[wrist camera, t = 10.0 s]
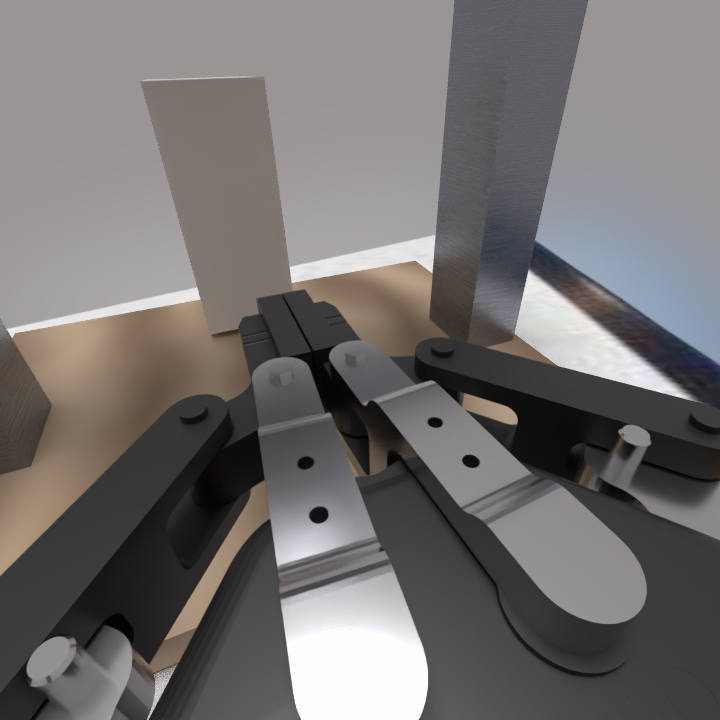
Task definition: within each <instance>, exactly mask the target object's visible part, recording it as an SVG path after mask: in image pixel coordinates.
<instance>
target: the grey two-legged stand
mask: <svg viewBox="0 0 720 720" xmlns="http://www.w3.org/2000/svg"><path fill="white" fill-rule="evenodd" d="M587 3H588V0H455V2H454V14H453V27H452V41H451V52H450V65H449V77H448V90H447V101H446V114H445V127H444V139H443V151H442V152H443V153H442V164H441V176H440V190H439V202H438V214H437V226H436V238H435V251H434V263H433V276H432V288H431V301H430V313H429V319H430V320H431V321H432V322H433V323H435V324H436V325H437V326H438V327H439V328H440V329H441V330H442V331H443V332H444V333H445V334H447V335H448V336H449V337H450V338H451V339H454V340H458V341H462V342H466V343H470V344H474V345H478V346H481V347H489V346H493V345H497V344H500V343H504V342H508V341H512V340H513V337H514V332H515V328H516V323H517V319H518V314H519V310H520V305H521V301H522V296H523V292H524V287H525V283H526V278H527V274H528V269H529V265H530V260H531V256H532V251H533V247H534V242H535V237H536V233H537V229H538V224H539V219H540V215H541V210H542V206H543V202H544V197H545V192H546V188H547V184H548V179H549V174H550V170H551V165H552V161H553V156H554V152H555V147H556V143H557V138H558V134H559V129H560V125H561V120H562V116H563V111H564V107H565V102H566V97H567V93H568V89H569V84H570V80H571V75H572V71H573V66H574V62H575V57H576V53H577V48H578V44H579V39H580V34H581V30H582V26H583V21H584V17H585V12H586V8H587ZM51 406H52V404H51V402H50V400H49V399H48V397H47V395H46V394H45V392H44V390H43V389H42V387H41V386H40V384H39V382H38V381H37V379H36V377H35V376H34V374H33V372H32V371H31V369H30V367H29V366H28V364H27V362H26V361H25V359H24V358H23V356H22V354H21V353H20V351H19V349H18V348H17V346H16V344H15V343H14V341H13V339H12V338H11V336H10V334H9V333H8V331H7V330H6V328H5V326H4V325H3V323H2V321H1V320H0V475H1V474H5V473H9V472H13V471H17V470H20V469H24V468H28V467H31V465H32V462H33V459H34V456H35V453H36V450H37V447H38V444H39V442H40V439H41V436H42V433H43V430H44V427H45V424H46V421H47V418H48V415H49V412H50V409H51Z"/></svg>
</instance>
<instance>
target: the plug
mask: <svg viewBox="0 0 720 720" xmlns="http://www.w3.org/2000/svg"><path fill="white" fill-rule="evenodd" d="M141 85H142V89H143V92H144V96H145V99H146V103H147V107H148V110H149V114H150V117H151V121H152V125H153V128H154V132H155V136H156V139H157V143H158V146H159V150H160V154H161V157H162V161H163V164H164V168H165V172H166V175H167V179H168V182H169V186H170V189H171V193H172V197H173V201H174V204H175V208H176V211H177V215H178V219H179V222H180V226H181V229H182V233H183V236H184V240H185V244H186V248H187V251H188V255H189V258H190V262H191V266H192V269H193V273H194V276H195V280H196V284H197V287H198V291H199V295H200V298H201V302H202V305H203V309H204V313H205V316H206V320H207V323H208V327H209V331H210V334H216V333H221V332H226V331H230V330H235V329H239V328H238V326H239V324H240V322H241V320H242V318H243V317H246V316H251V315H256V314H259V313H258V308H257V302H256V298H260V297H266V296H271V295H276V294H282V293H286V292H292V284H291V276H290V269H289V261H288V255H287V246H286V239H285V231H284V224H283V216H282V208H281V201H280V194H279V186H278V178H277V171H276V164H275V156H274V148H273V141H272V133H271V125H270V119H269V110H268V104H267V95H266V88H265V80H264V77H252V76H251V77H250V76H245V77H216V78H188V79H159V80H143V81H141Z"/></svg>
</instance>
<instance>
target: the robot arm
mask: <svg viewBox="0 0 720 720" xmlns="http://www.w3.org/2000/svg"><path fill="white" fill-rule="evenodd" d="M256 302H257V308H258V313H259V314H256V315H251V316H246V317H243V318H242V320H241V322H240V324H239V326H238V328H239V332H240V336H241V341H242V345H243V349H244V354H245V358H246V362H247V367H248V370H249V374H250V377H251V383H250V385H249V386H248V388H247V389H246V390H245V391H244V392H242V393H241V394H240V395H238V396H236V397H235V398H233V399H231V400H229V401H227V402H225V401H224V400H223V399H222V398H220V397H218V396H215V395H210V394H201V395H194V396H190V397H187V398H185V399H182V400H180V401H178V402H176V403H175V404H173V405H172V406H171V407H170V408H168V409H167V410H166V411H165V412H164V413H163V414H162V415H161V416H160V417H159V418H158V419H157V420H156V421H155V422H154V423H153V424H152V425H151V426H150V427H149V428H148V429H147V430H146V431H145V432H144V433H143V434H142V435H141V436H140V437H139V438H138V439H137V440H136V441H135V442H134V443H133V444H132V445H131V446H130V447H129V448H128V449H127V450H126V451H125V452H124V453H123V454H122V455H121V456H120V457H119V458H118V459H117V460H116V461H115V462H114V463H113V464H112V465H111V466H110V467H109V468H108V469H107V470H106V471H105V472H104V473H103V474H102V475H101V476H100V477H99V478H98V479H97V480H96V481H95V482H94V483H93V484H92V485H91V486H90V487H89V488H88V489H87V490H86V491H85V492H84V493H83V494H82V495H81V496H80V497H79V498H78V499H77V500H76V501H75V502H74V503H73V504H72V505H71V506H70V507H69V508H68V509H67V510H66V511H65V512H64V513H63V514H62V515H61V516H60V517H59V518H58V519H57V520H56V521H55V522H54V523H53V524H52V525H51V526H50V527H49V528H48V529H47V530H46V531H45V532H44V533H43V534H42V535H41V536H40V537H39V538H38V539H37V540H36V541H35V542H34V543H33V544H32V545H31V546H30V547H29V548H28V549H27V550H26V551H25V552H24V553H23V554H22V555H21V556H20V557H19V558H18V559H17V560H16V561H15V562H14V563H13V564H12V565H11V566H10V567H9V568H8V569H7V570H6V571H5V572H4V573H3V574H2V575H1V576H0V720H147V718H148V715H149V713H150V711H151V708H152V704H153V701H154V695H155V678H154V674H153V671H152V669H151V667H150V666H149V664H150V663H151V661H152V659H153V658H154V656H155V654H156V653H157V651H158V650H159V648H160V646H161V645H162V643H163V641H164V640H165V638H166V636H167V635H168V633H169V631H170V630H171V628H172V626H173V625H174V623H175V621H176V620H177V618H178V617H179V615H180V613H181V612H182V610H183V608H184V607H185V605H186V603H187V602H188V600H189V598H190V597H191V595H192V593H193V592H194V590H195V588H196V587H197V585H198V583H199V582H200V580H201V579H202V577H203V575H204V574H205V572H206V570H207V569H208V567H209V565H210V564H211V562H212V560H213V559H214V557H215V555H216V554H217V552H218V550H219V549H220V547H221V546H222V544H223V542H224V541H225V539H226V537H227V536H228V534H229V532H230V531H231V529H232V527H233V526H234V524H235V522H236V521H237V519H238V517H239V516H240V514H241V512H242V511H243V509H244V508H245V506H246V504H247V503H248V501H249V499H250V495H251V488H253V487H254V486H256V485H257V484H259V483H261V482H262V481H264V480H265V484H266V491H267V498H268V505H269V512H270V518H269V519H268V520H267V521H266V522H264V523H263V524H262V525H261V526H260V527H259V528H257V529H256V530H255V531H254V532H253V533H252V534H251V536H250V537H249V538H248V539H247V540H246V541H245V543H244V544H243V545H242V546H241V548H240V549H239V551H238V552H237V554H236V555H235V557H234V558H233V560H232V562H231V564H230V566H229V567H228V569H227V571H226V573H225V575H224V577H223V579H222V581H221V583H220V585H219V587H218V588H217V590H216V592H215V594H214V596H213V598H212V600H211V602H210V604H209V606H208V608H207V609H206V611H205V613H204V615H203V617H202V619H201V621H200V623H199V625H198V627H197V629H196V630H195V632H194V634H193V636H192V638H191V640H190V642H189V644H188V646H187V648H186V650H185V651H184V653H183V655H182V657H181V659H180V661H179V663H178V665H177V667H176V669H175V671H174V672H173V674H172V676H171V678H170V680H169V682H168V684H167V686H166V688H165V690H164V692H163V693H162V695H161V697H160V699H159V701H158V703H157V705H156V707H155V709H154V711H153V713H152V714H151V716H150V718H149V720H720V410H719V409H717V408H714V407H712V406H709V405H706V404H702V403H698V402H694V401H690V400H687V399H683V398H679V397H675V396H671V395H667V394H663V393H660V392H656V391H652V390H648V389H644V388H640V387H636V386H632V385H629V384H625V383H621V382H617V381H613V380H609V379H605V378H601V377H598V376H594V375H590V374H586V373H582V372H578V371H574V370H571V369H567V368H563V367H559V366H555V365H551V364H547V363H543V362H540V361H536V360H532V359H528V358H524V357H520V356H516V355H512V354H509V353H505V352H501V351H497V350H493V349H489V348H485V347H481V346H478V345H474V344H470V343H466V342H462V341H458V340H454V339H450V338H444V337H435V338H429V339H426V340H423V341H421V342H420V343H419V344H418V345H417V346H416V348H415V356H399V357H392V356H388V355H387V354H386V353H385V352H384V351H383V350H382V349H381V348H380V347H379V346H377V345H375V344H373V343H371V342H367V341H361V339H360V338H359V337H358V335H357V334H356V333H355V331H354V330H353V329H352V328H351V326H350V325H349V324H348V323H347V321H346V320H345V318H344V317H343V316H342V314H341V313H340V312H339V310H338V309H337V308H336V306H334V305H332V304H330V303H328V302H326V301H321V302H316V303H314V302H313V300H312V299H311V297H310V296H309V294H308V293H307V291H306V290H305V289H302V290H297V291H292V292H286V293H282V294H276V295H271V296H266V297H260V298H256ZM465 393H466V394H469V395H472V396H475V397H478V398H482V399H485V400H488V401H491V402H494V403H498V404H501V405H504V406H507V407H509V408H510V409H512V410H513V411H514V412H515V414H516V416H517V418H518V422H517V424H514V425H511V424H507V423H504V422H501V421H498V420H495V419H491V418H488V417H485V416H482V415H479V414H476V413H473V412H470V411H467V410H465V409H464V408H462V407H463V400H464V394H465ZM334 422H335V423H334ZM347 457H348V458H347ZM348 459H349V460H350V462H351V464H352V465H353V467H354V469H355V470H356V472H357V473H358V475H359V477H354V474H353V472H352V469H351V466H350V463H349V461H348Z"/></svg>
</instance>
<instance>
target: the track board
mask: <svg viewBox="0 0 720 720" xmlns="http://www.w3.org/2000/svg"><path fill="white" fill-rule="evenodd" d="M432 276H433V274H432V273H431V272H430V271H428V270H427V269H426V268H424V267H423V266H421V265H420V264H419V263H417V262H416V261H411V262H406V263H400V264H395V265H389V266H384V267H378V268H373V269H367V270H362V271H356V272H351V273H345V274H340V275H334V276H329V277H323V278H318V279H312V280H307V281H301V282H296V283H291V284H292V291H297V290H302V289H305V290H306V291H307V293H308V294H309V296H310V297H311V299H312V300H313V302H314V303H316V302H321V301H326V302H328V303H330V304H332V305H334V306H336V308H337V309H338V310H339V312H340V313H341V314H342V316H343V317H344V318H345V320H346V321H347V323H348V324H349V325H350V326H351V328H352V329H353V330H354V331H355V333H356V334H357V335H358V337H359V338H360V339H361V341H367V342H371V343H373V344H375V345H377V346H379V347H380V348H381V349H382V350H383V351H384V352H385V353H386V354H387V355H388V356H392V357H399V356H415V348H416V346H417V345H418V344H419V343H420V342H421V341H423V340H426V339H429V338H435V337H444V338H450V337H449V336H448V335H447V334H445V333H444V332H443V331H442V330H441V329H440V328H439V327H438V326H437V325H436V324H435V323H433V322H432V321H431V320H430V319H429V313H430V301H431V288H432ZM12 339H13V341H14V343H15V344H16V346H17V348H18V349H19V351H20V353H21V354H22V356H23V358H24V359H25V361H26V362H27V364H28V366H29V367H30V369H31V371H32V372H33V374H34V376H35V377H36V379H37V381H38V382H39V384H40V386H41V387H42V389H43V390H44V392H45V394H46V395H47V397H48V399H49V400H50V402H51V404H52V406H51V409H50V412H49V415H48V418H47V421H46V424H45V427H44V430H43V433H42V436H41V439H40V442H39V444H38V447H37V450H36V453H35V456H34V459H33V462H32V465H31V467H28V468H24V469H20V470H17V471H13V472H9V473H5V474H1V475H0V576H1V575H2V574H3V573H4V572H5V571H6V570H7V569H8V568H9V567H10V566H11V565H12V564H13V563H14V562H15V561H16V560H17V559H18V558H19V557H20V556H21V555H22V554H23V553H24V552H25V551H26V550H27V549H28V548H29V547H30V546H31V545H32V544H33V543H34V542H35V541H36V540H37V539H38V538H39V537H40V536H41V535H42V534H43V533H44V532H45V531H46V530H47V529H48V528H49V527H50V526H51V525H52V524H53V523H54V522H55V521H56V520H57V519H58V518H59V517H60V516H61V515H62V514H63V513H64V512H65V511H66V510H67V509H68V508H69V507H70V506H71V505H72V504H73V503H74V502H75V501H76V500H77V499H78V498H79V497H80V496H81V495H82V494H83V493H84V492H85V491H86V490H87V489H88V488H89V487H90V486H91V485H92V484H93V483H94V482H95V481H96V480H97V479H98V478H99V477H100V476H101V475H102V474H103V473H104V472H105V471H106V470H107V469H108V468H109V467H110V466H111V465H112V464H113V463H114V462H115V461H116V460H117V459H118V458H119V457H120V456H121V455H122V454H123V453H124V452H125V451H126V450H127V449H128V448H129V447H130V446H131V445H132V444H133V443H134V442H135V441H136V440H137V439H138V438H139V437H140V436H141V435H142V434H143V433H144V432H145V431H146V430H147V429H148V428H149V427H150V426H151V425H152V424H153V423H154V422H155V421H156V420H157V419H158V418H159V417H160V416H161V415H162V414H163V413H164V412H165V411H166V410H167V409H168V408H170V407H171V406H172V405H173V404H175V403H176V402H178V401H180V400H182V399H185V398H187V397H190V396H194V395H201V394H210V395H215V396H218V397H220V398H222V399H223V400H224V401H225V402H227V401H229V400H231V399H233V398H235V397H236V396H238V395H240V394H241V393H242V392H244V391H245V390H246V389H247V388H248V386H249V385H250V383H251V377H250V374H249V370H248V367H247V362H246V358H245V354H244V349H243V345H242V341H241V336H240V332H239V329H235V330H230V331H226V332H221V333H216V334H210V331H209V327H208V323H207V320H206V316H205V313H204V309H203V305H202V302H201V300H197V301H191V302H186V303H180V304H175V305H169V306H164V307H158V308H153V309H147V310H142V311H136V312H130V313H125V314H119V315H114V316H108V317H103V318H97V319H92V320H86V321H81V322H75V323H70V324H64V325H59V326H53V327H48V328H42V329H37V330H31V331H26V332H20V333H15V335H14V336H13V338H12ZM450 339H451V338H450ZM485 348H489V349H493V350H497V351H501V352H505V353H509V354H512V355H516V356H520V357H524V358H528V359H532V360H536V361H540V362H543V363H547V364H551V365H555V366H557V365H556V364H554V363H553V362H552V361H550V360H549V359H547V358H546V357H545V356H543V355H542V354H541V353H539V352H538V351H537V350H535V349H534V348H533V347H531V346H530V345H528V344H527V343H526V342H524V341H523V340H522V339H520V338H519V337H518V336H516V335H515V334H514V337H513V340H512V341H508V342H504V343H500V344H497V345H493V346H489V347H485ZM462 408H464V409H465V410H467V411H470V412H473V413H476V414H479V415H482V416H485V417H488V418H491V419H495V420H498V421H501V422H504V423H507V424H511V425H514V424H517V422H518V418H517V416H516V414H515V412H514V411H513V410H512V409H510V408H509V407H507V406H504V405H501V404H498V403H494V402H491V401H488V400H485V399H482V398H478V397H475V396H472V395H469V394H466V393H465V394H464V400H463V407H462ZM334 423H335V422H334ZM347 458H348V457H347ZM348 461H349V463H350V466H351V469H352V472H353V474H354V477H359V475H358V473H357V472H356V470H355V469H354V467H353V465H352V464H351V462H350V460H349V459H348ZM269 518H270V512H269V505H268V498H267V491H266V484H265V480H264V481H262V482H261V483H259V484H257V485H256V486H254V487H253V488H251V495H250V499H249V501H248V503H247V504H246V506H245V508H244V509H243V511H242V512H241V514H240V516H239V517H238V519H237V521H236V522H235V524H234V526H233V527H232V529H231V531H230V532H229V534H228V536H227V537H226V539H225V541H224V542H223V544H222V546H221V547H220V549H219V550H218V552H217V554H216V555H215V557H214V559H213V560H212V562H211V564H210V565H209V567H208V569H207V570H206V572H205V574H204V575H203V577H202V579H201V580H200V582H199V583H198V585H197V587H196V588H195V590H194V592H193V593H192V595H191V597H190V598H189V600H188V602H187V603H186V605H185V607H184V608H183V610H182V612H181V613H180V615H179V617H178V618H177V620H176V621H175V623H174V625H173V626H172V628H171V630H170V631H169V633H168V635H167V636H166V638H165V640H164V641H163V643H162V645H161V646H160V648H159V650H158V651H157V653H156V654H155V656H154V658H153V659H152V661H151V663H150V664H149V666H150V667H151V669H152V671H153V673H155V672H158V671H160V670H162V669H165V668H167V667H170V666H172V665H174V664H177V663H179V661H180V659H181V657H182V655H183V653H184V651H185V650H186V648H187V646H188V644H189V642H190V640H191V638H192V636H193V634H194V632H195V630H196V629H197V627H198V625H199V623H200V621H201V619H202V617H203V615H204V613H205V611H206V609H207V608H208V606H209V604H210V602H211V600H212V598H213V596H214V594H215V592H216V590H217V588H218V587H219V585H220V583H221V581H222V579H223V577H224V575H225V573H226V571H227V569H228V567H229V566H230V564H231V562H232V560H233V558H234V557H235V555H236V554H237V552H238V551H239V549H240V548H241V546H242V545H243V544H244V543H245V541H246V540H247V539H248V538H249V537H250V536H251V534H252V533H253V532H254V531H255V530H256V529H257V528H259V527H260V526H261V525H262V524H263V523H264V522H266V521H267V520H268V519H269Z"/></svg>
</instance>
